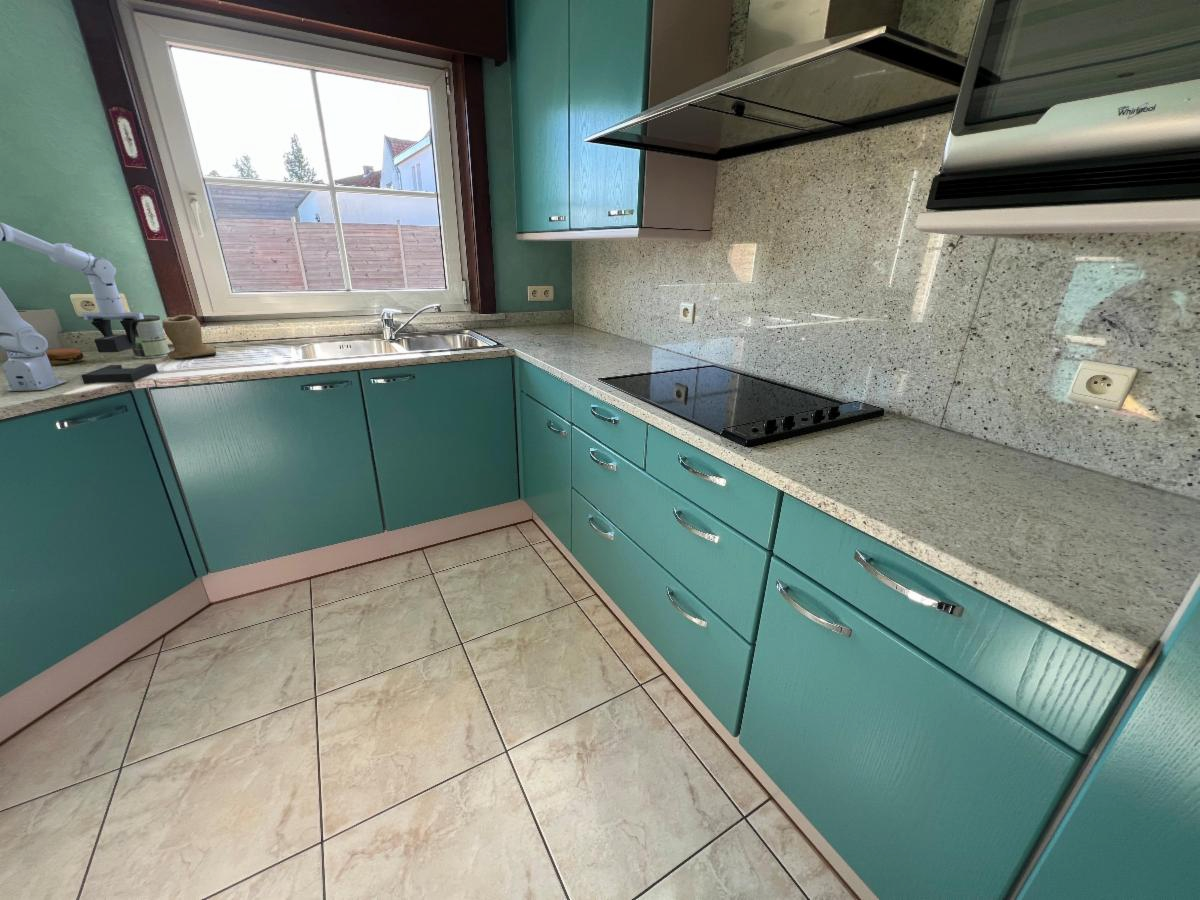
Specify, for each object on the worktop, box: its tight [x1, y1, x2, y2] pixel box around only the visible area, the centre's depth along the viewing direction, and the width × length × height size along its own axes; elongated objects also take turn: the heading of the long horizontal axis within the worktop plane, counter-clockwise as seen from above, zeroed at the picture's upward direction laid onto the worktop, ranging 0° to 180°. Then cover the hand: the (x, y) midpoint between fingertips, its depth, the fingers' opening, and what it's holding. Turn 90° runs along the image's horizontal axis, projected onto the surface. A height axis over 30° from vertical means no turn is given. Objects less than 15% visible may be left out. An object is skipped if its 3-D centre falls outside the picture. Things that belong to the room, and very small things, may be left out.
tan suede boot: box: [161, 314, 217, 359], centre depth 179 cm, size 15×12×15 cm
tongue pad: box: [93, 333, 136, 353], centre depth 154 cm, size 10×5×4 cm, turn 16°
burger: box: [45, 347, 86, 366], centre depth 167 cm, size 10×9×5 cm
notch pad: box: [80, 363, 159, 384], centre depth 151 cm, size 14×12×2 cm
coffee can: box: [121, 314, 171, 360], centre depth 178 cm, size 10×10×14 cm
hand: (122, 342), depth 157 cm, fingers closed on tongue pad, 5 cm apart
